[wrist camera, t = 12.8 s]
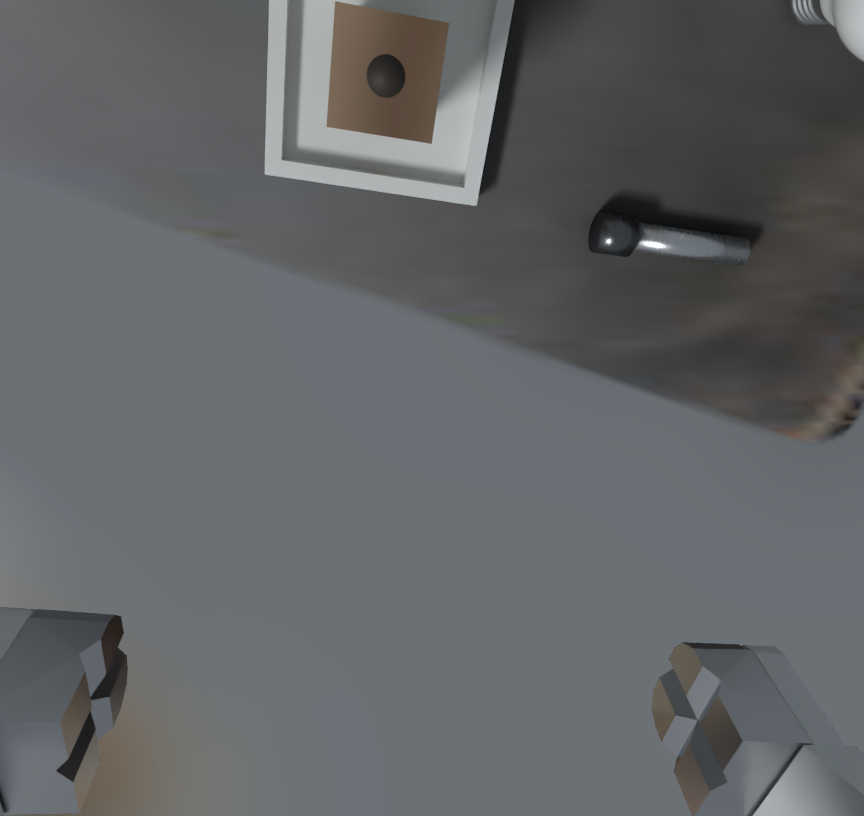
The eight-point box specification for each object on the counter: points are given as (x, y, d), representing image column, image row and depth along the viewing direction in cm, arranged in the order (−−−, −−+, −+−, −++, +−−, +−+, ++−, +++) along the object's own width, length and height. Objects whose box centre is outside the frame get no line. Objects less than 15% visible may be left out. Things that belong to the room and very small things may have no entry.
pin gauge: (585, 246, 36) (596, 256, 34) (596, 207, 35) (608, 216, 33) (727, 266, 37) (746, 278, 35) (742, 229, 36) (762, 239, 34)
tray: (269, 169, 33) (264, 174, 32) (276, -91, 28) (271, -99, 26) (472, 200, 34) (476, 206, 33) (516, -41, 29) (523, -45, 28)
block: (339, 108, 31) (326, 126, 23) (347, 15, 29) (335, 1, 21) (419, 122, 32) (433, 144, 24) (432, 31, 30) (450, 23, 22)
